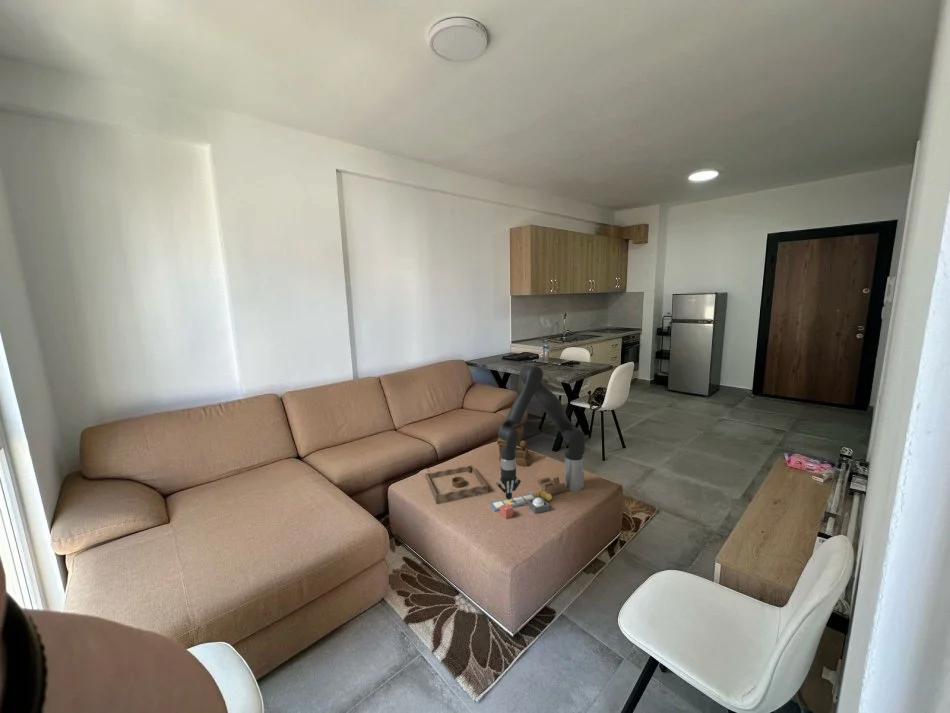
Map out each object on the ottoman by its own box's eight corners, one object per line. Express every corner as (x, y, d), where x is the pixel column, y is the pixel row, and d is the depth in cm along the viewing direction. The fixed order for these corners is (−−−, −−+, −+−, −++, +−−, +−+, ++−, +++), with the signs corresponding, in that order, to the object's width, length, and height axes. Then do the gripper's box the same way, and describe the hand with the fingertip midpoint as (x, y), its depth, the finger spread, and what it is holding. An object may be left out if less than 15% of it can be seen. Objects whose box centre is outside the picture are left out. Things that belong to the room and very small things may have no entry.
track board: (532, 494, 198) (532, 492, 198) (539, 501, 191) (539, 499, 191) (489, 503, 190) (489, 502, 190) (495, 511, 183) (494, 509, 183)
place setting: (440, 484, 212) (440, 475, 211) (469, 474, 224) (469, 465, 223) (458, 497, 198) (457, 487, 197) (488, 485, 210) (487, 475, 209)
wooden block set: (534, 477, 208) (549, 473, 212) (537, 493, 206) (552, 488, 211) (553, 479, 192) (569, 474, 196) (557, 497, 190) (573, 492, 195)
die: (507, 511, 183) (507, 503, 182) (513, 515, 179) (513, 507, 179) (500, 514, 181) (499, 506, 180) (505, 519, 177) (505, 510, 176)
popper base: (541, 502, 191) (541, 496, 190) (549, 510, 183) (549, 504, 183) (527, 505, 188) (527, 500, 188) (534, 513, 181) (534, 508, 180)
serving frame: (472, 473, 224) (471, 465, 223) (488, 494, 200) (487, 485, 199) (425, 481, 215) (425, 473, 214) (436, 504, 191) (436, 495, 190)
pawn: (537, 498, 195) (549, 504, 190) (536, 492, 193) (549, 498, 188) (541, 492, 198) (554, 498, 193) (541, 486, 196) (553, 492, 191)
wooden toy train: (496, 466, 233) (496, 440, 230) (503, 458, 243) (502, 434, 241) (528, 471, 225) (528, 444, 222) (533, 463, 235) (533, 437, 233)
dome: (540, 503, 189) (540, 494, 188) (546, 509, 184) (546, 499, 183) (530, 505, 187) (530, 496, 186) (536, 511, 182) (535, 502, 181)
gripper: (517, 461, 192) (517, 493, 195) (493, 465, 188) (493, 497, 191) (524, 467, 185) (524, 500, 188) (499, 471, 181) (499, 505, 184)
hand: (508, 498), depth 189 cm, fingers closed
